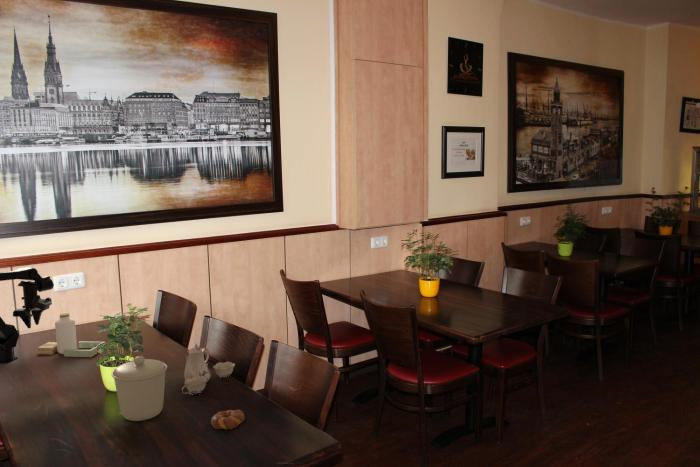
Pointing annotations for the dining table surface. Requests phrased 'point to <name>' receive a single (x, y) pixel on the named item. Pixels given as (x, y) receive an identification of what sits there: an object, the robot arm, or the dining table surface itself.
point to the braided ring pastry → (227, 419)
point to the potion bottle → (65, 333)
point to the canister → (140, 388)
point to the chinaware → (201, 370)
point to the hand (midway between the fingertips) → (33, 326)
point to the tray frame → (83, 352)
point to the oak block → (48, 348)
